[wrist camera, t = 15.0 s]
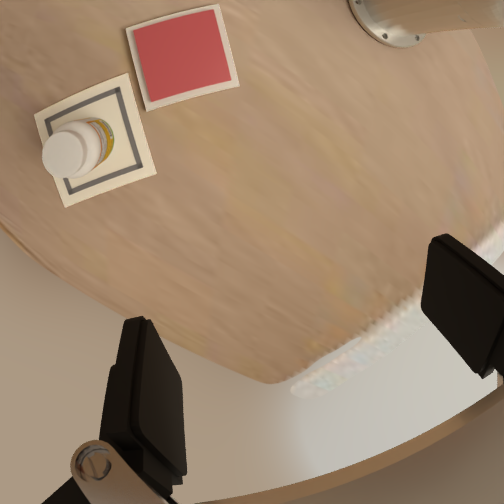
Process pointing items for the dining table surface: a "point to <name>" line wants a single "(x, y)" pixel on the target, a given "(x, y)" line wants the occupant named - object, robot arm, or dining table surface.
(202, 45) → the ink pad
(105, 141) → the supplement bottle
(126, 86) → the marked sheet
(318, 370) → the dining table surface
